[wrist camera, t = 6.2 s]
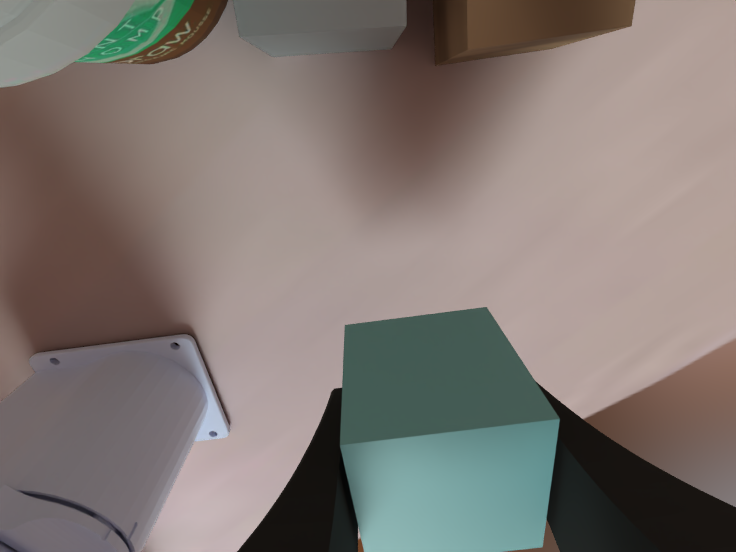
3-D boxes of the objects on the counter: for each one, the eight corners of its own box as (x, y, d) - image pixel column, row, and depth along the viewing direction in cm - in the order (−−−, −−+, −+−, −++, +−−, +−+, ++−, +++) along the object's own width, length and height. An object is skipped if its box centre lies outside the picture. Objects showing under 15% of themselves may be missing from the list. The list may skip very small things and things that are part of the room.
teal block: (363, 427, 15) (368, 566, 10) (345, 325, 13) (339, 445, 8) (485, 412, 15) (542, 547, 10) (486, 307, 13) (559, 418, 8)
